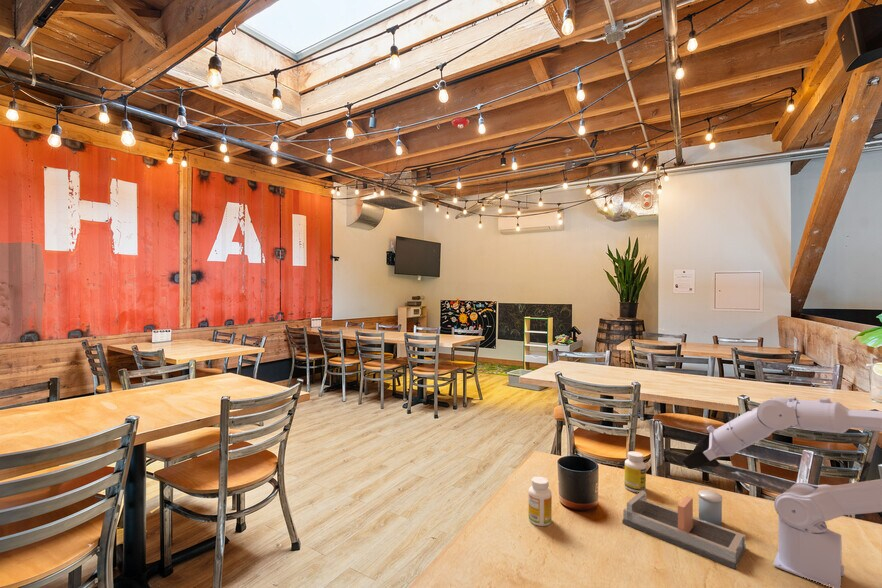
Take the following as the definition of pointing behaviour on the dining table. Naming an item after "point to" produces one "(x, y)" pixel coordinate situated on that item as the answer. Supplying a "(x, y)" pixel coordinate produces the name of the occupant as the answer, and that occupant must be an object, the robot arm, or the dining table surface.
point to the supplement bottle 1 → (540, 502)
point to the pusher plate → (685, 514)
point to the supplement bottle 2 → (635, 472)
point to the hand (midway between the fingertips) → (691, 458)
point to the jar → (710, 507)
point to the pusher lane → (699, 540)
